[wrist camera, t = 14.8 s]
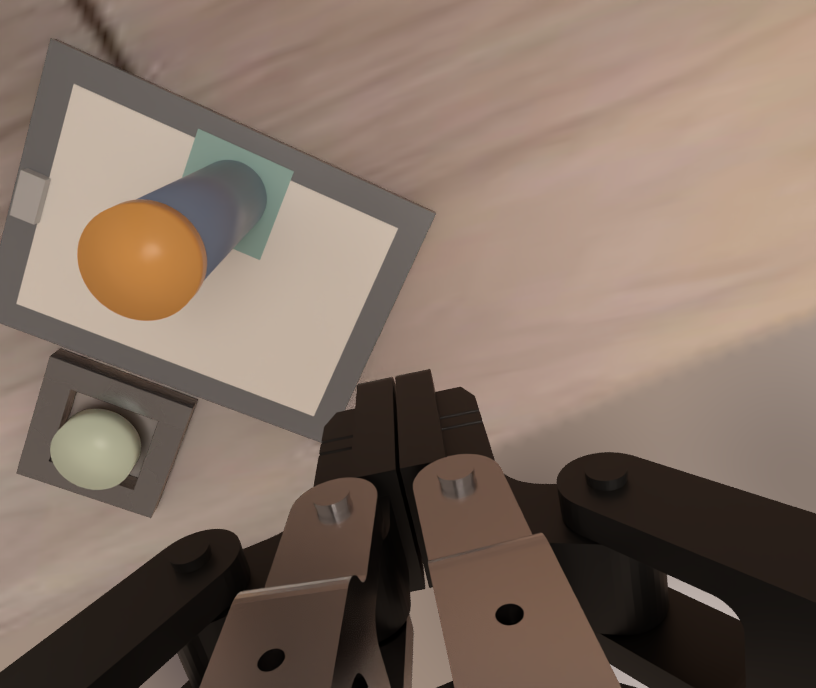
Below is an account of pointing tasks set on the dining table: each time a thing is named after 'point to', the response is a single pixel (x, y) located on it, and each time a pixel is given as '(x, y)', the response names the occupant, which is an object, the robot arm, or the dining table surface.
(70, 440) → the button
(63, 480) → the button housing
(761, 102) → the dining table surface
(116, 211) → the cylinder
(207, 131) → the clipboard
